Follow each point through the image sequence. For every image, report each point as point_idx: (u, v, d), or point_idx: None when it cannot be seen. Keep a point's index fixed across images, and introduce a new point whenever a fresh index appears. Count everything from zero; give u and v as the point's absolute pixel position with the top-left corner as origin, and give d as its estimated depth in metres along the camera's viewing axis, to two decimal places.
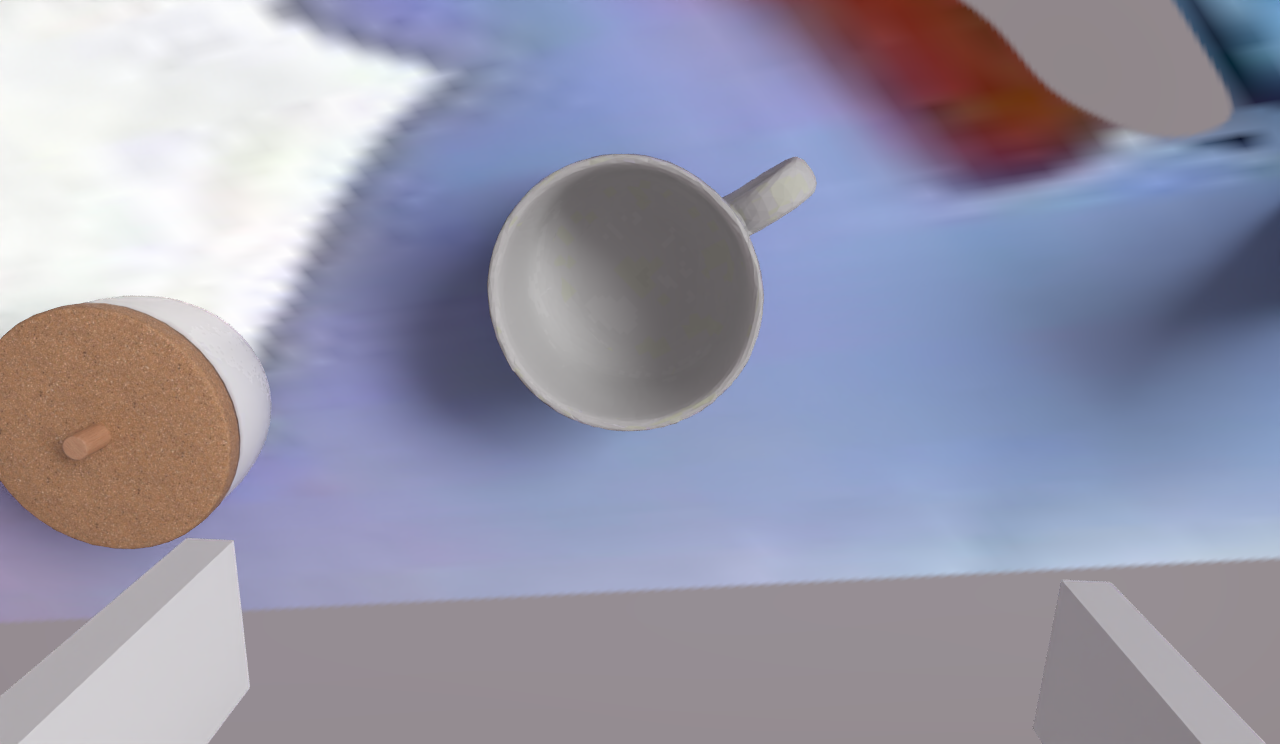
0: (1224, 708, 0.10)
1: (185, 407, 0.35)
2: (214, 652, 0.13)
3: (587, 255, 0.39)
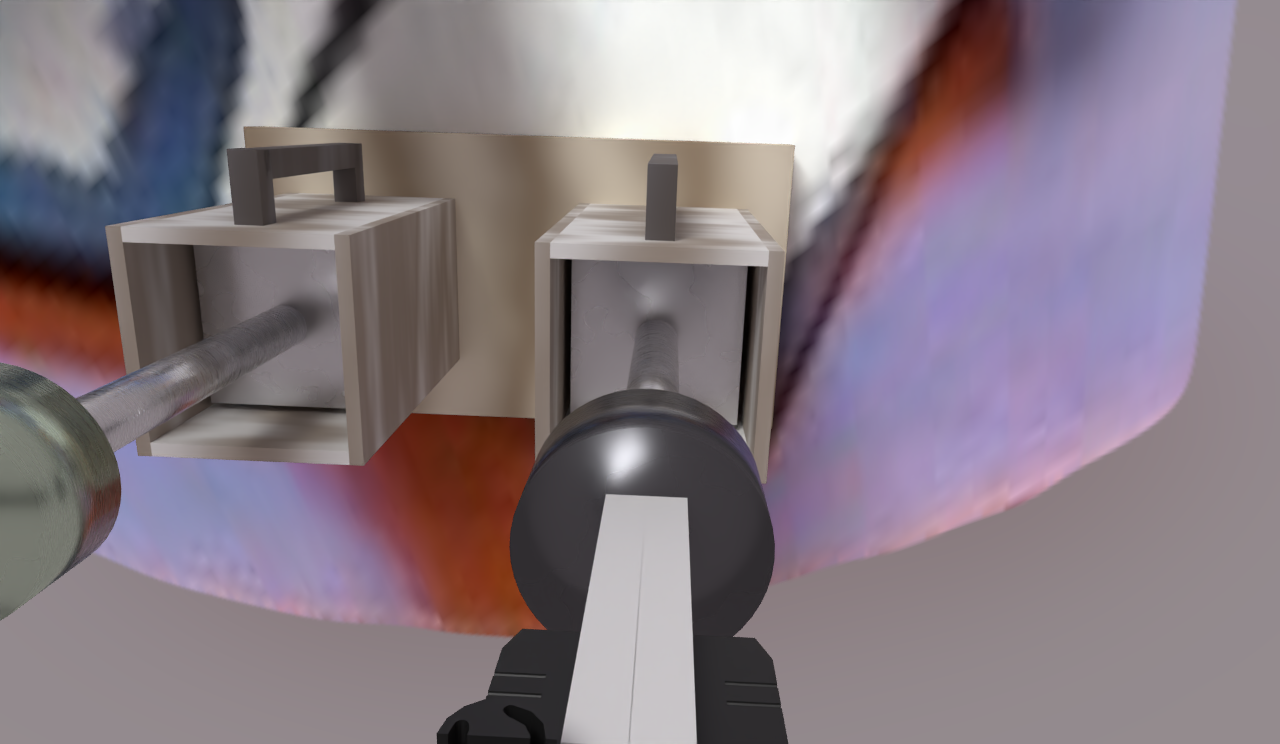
0: (684, 581, 0.13)
1: None
2: None
3: None
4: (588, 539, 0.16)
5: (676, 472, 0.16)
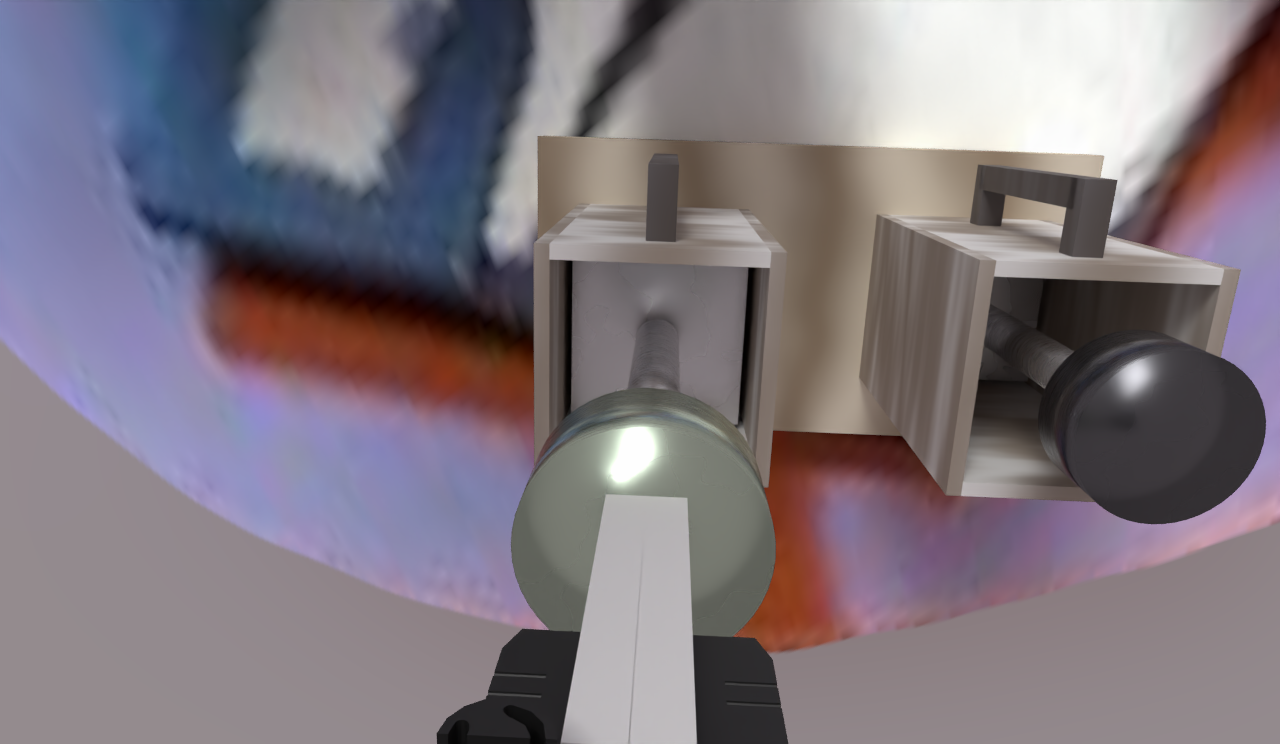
0: (684, 581, 0.13)
1: None
2: None
3: None
4: (1133, 430, 0.23)
5: (1204, 382, 0.23)
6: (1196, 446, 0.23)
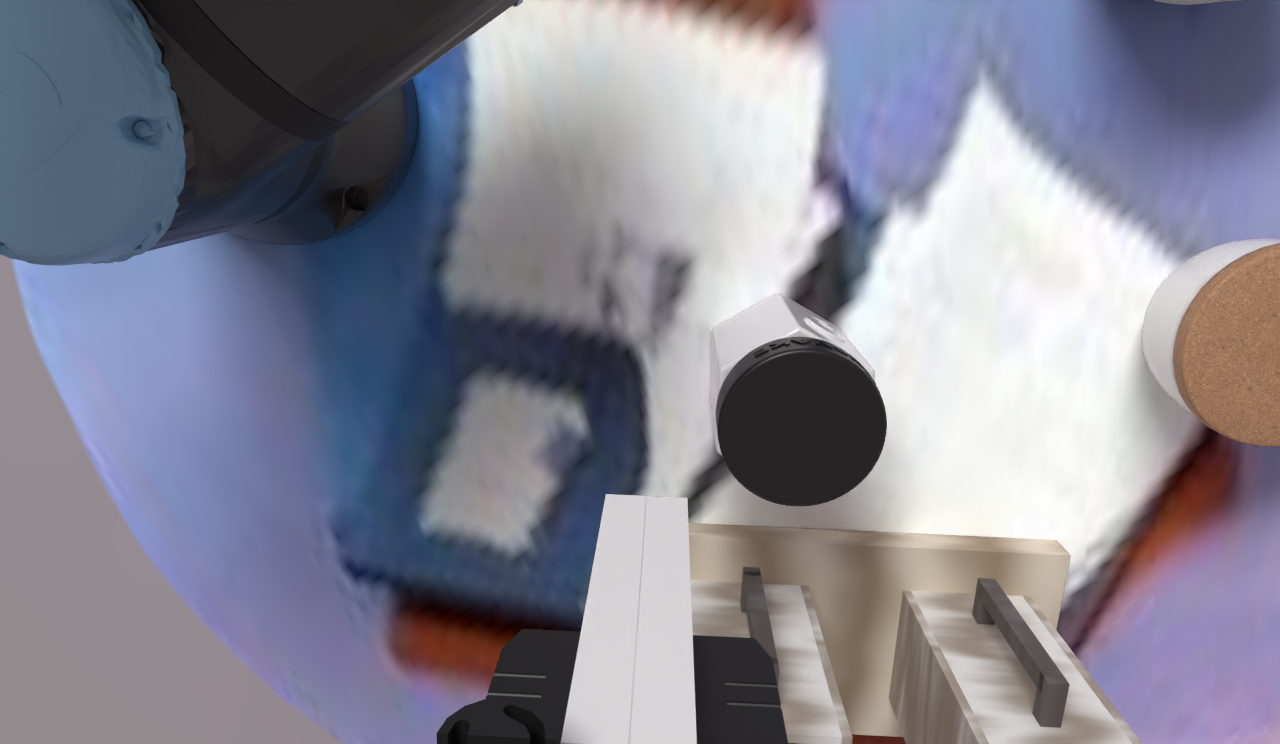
0: (684, 581, 0.13)
1: None
2: None
3: None
4: None
5: None
6: None
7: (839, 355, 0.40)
